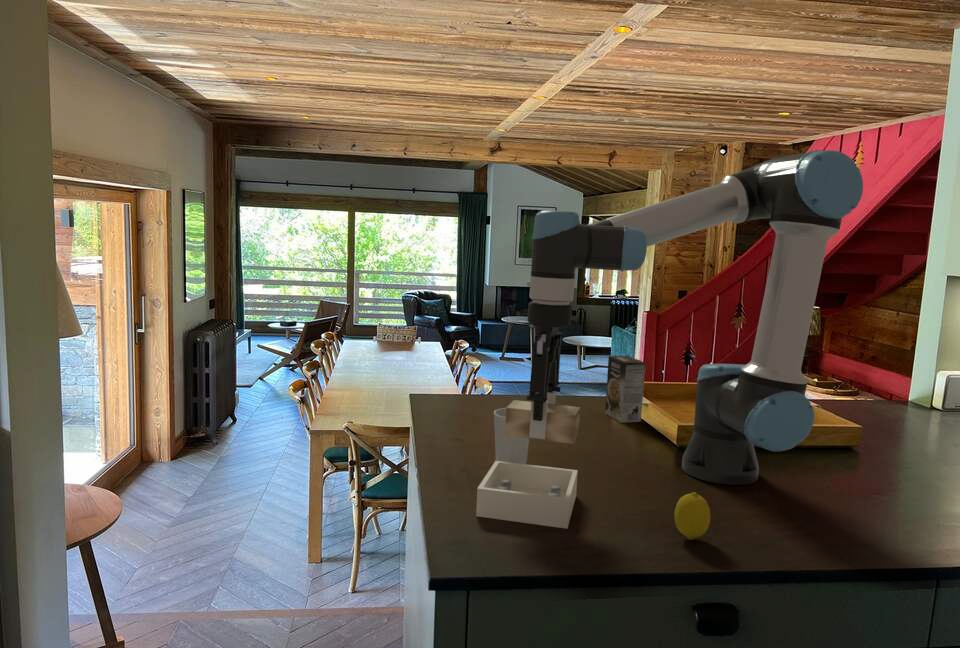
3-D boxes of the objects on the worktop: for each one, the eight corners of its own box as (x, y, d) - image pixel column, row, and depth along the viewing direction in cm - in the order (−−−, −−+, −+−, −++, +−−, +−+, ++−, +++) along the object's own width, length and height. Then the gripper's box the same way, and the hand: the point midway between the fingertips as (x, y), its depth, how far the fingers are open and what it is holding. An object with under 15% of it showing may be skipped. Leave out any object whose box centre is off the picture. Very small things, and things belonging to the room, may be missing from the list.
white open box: (576, 495, 126) (577, 470, 126) (567, 528, 112) (569, 500, 112) (494, 485, 130) (495, 460, 129) (476, 516, 116) (477, 488, 115)
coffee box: (603, 413, 185) (607, 355, 182) (624, 412, 187) (628, 355, 184) (620, 423, 176) (624, 362, 174) (642, 421, 178) (646, 361, 176)
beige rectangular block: (504, 435, 118) (506, 407, 117) (512, 426, 124) (513, 400, 123) (573, 443, 115) (575, 415, 114) (578, 434, 120) (579, 407, 120)
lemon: (680, 528, 114) (684, 483, 113) (713, 539, 110) (717, 492, 109) (667, 539, 110) (670, 492, 108) (700, 550, 106) (704, 502, 105)
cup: (527, 478, 134) (530, 420, 133) (488, 474, 136) (490, 416, 134) (532, 465, 142) (535, 409, 140) (495, 461, 144) (497, 406, 142)
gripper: (541, 296, 126) (532, 416, 129) (515, 304, 108) (506, 444, 111) (581, 299, 124) (571, 421, 127) (562, 309, 106) (551, 451, 109)
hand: (541, 432), depth 119 cm, fingers closed on beige rectangular block, 6 cm apart
